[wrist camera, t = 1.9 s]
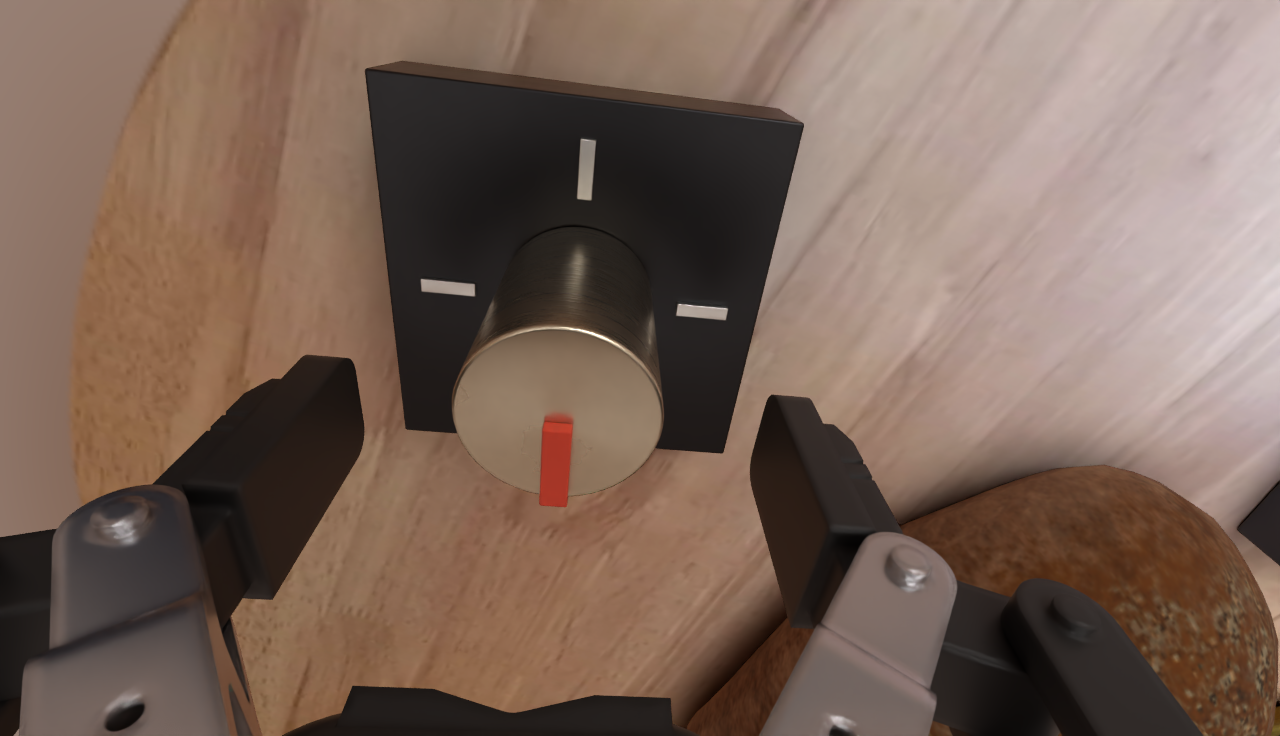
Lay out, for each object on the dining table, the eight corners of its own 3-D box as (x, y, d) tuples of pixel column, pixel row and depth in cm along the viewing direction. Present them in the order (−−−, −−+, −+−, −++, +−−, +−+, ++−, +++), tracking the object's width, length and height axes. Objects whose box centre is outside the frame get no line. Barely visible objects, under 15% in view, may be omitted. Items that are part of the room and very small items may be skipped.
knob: (502, 218, 14) (440, 324, 10) (661, 234, 15) (680, 345, 10) (503, 355, 17) (452, 501, 12) (642, 368, 17) (650, 515, 12)
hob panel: (400, 60, 15) (360, 68, 13) (780, 108, 16) (807, 124, 13) (428, 385, 20) (403, 433, 18) (713, 409, 21) (724, 457, 19)
